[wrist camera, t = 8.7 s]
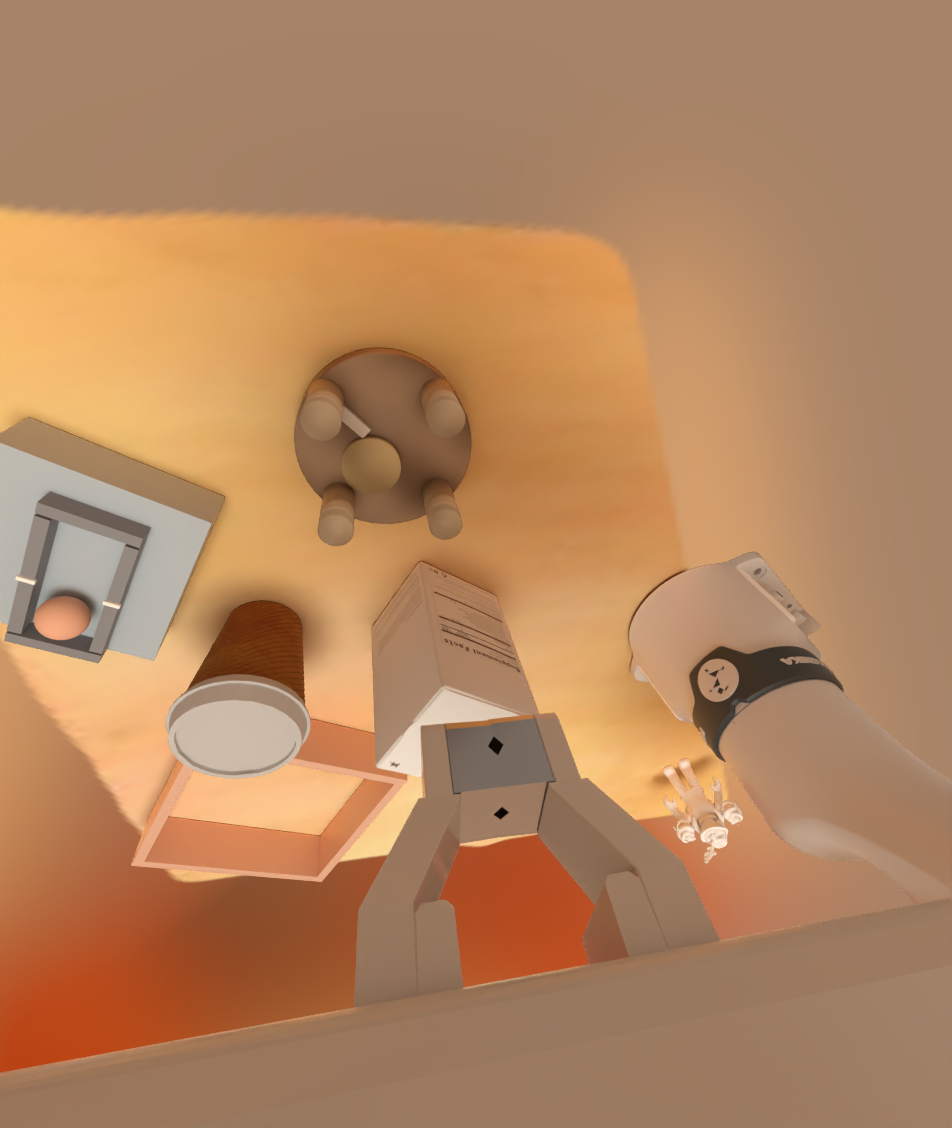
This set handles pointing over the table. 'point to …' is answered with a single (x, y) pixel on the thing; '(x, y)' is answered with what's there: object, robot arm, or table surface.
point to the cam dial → (382, 443)
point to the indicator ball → (62, 618)
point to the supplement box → (440, 664)
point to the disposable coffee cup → (245, 697)
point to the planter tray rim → (272, 849)
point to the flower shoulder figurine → (700, 809)
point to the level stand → (94, 541)
